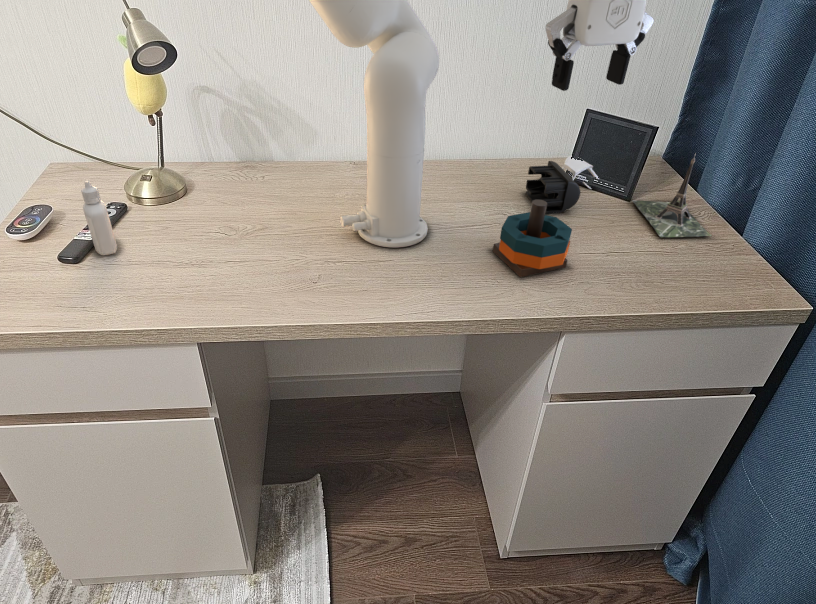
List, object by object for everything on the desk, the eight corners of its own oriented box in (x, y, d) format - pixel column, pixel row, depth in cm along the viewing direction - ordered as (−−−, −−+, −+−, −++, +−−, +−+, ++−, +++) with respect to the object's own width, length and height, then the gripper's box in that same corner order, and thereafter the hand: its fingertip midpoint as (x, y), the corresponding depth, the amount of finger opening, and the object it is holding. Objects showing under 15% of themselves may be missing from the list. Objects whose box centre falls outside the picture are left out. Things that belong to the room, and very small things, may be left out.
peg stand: (520, 277, 100) (531, 219, 94) (492, 251, 106) (500, 195, 100) (565, 267, 103) (579, 210, 96) (535, 242, 109) (547, 187, 103)
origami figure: (602, 196, 125) (608, 173, 122) (562, 196, 124) (567, 173, 121) (581, 172, 135) (586, 150, 132) (544, 172, 134) (548, 150, 131)
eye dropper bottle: (87, 256, 101) (65, 188, 94) (99, 239, 106) (79, 173, 98) (113, 256, 101) (94, 189, 94) (124, 240, 106) (107, 174, 98)
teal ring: (524, 261, 97) (526, 249, 96) (490, 230, 105) (492, 218, 103) (580, 249, 100) (583, 237, 99) (543, 220, 108) (546, 209, 107)
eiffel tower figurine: (629, 202, 123) (648, 136, 115) (678, 202, 124) (700, 137, 116) (659, 239, 112) (683, 169, 103) (713, 239, 112) (741, 169, 104)
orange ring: (522, 272, 98) (524, 261, 97) (489, 241, 106) (491, 229, 105) (578, 261, 102) (581, 250, 100) (542, 231, 109) (545, 220, 108)
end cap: (576, 213, 119) (584, 180, 114) (541, 215, 118) (548, 182, 113) (556, 191, 126) (563, 159, 122) (523, 193, 125) (529, 161, 121)
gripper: (581, -50, 72) (552, 98, 83) (692, -53, 78) (652, 87, 89) (544, -58, 78) (522, 82, 88) (651, -60, 83) (618, 73, 94)
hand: (587, 84), depth 89 cm, fingers open, 9 cm apart
